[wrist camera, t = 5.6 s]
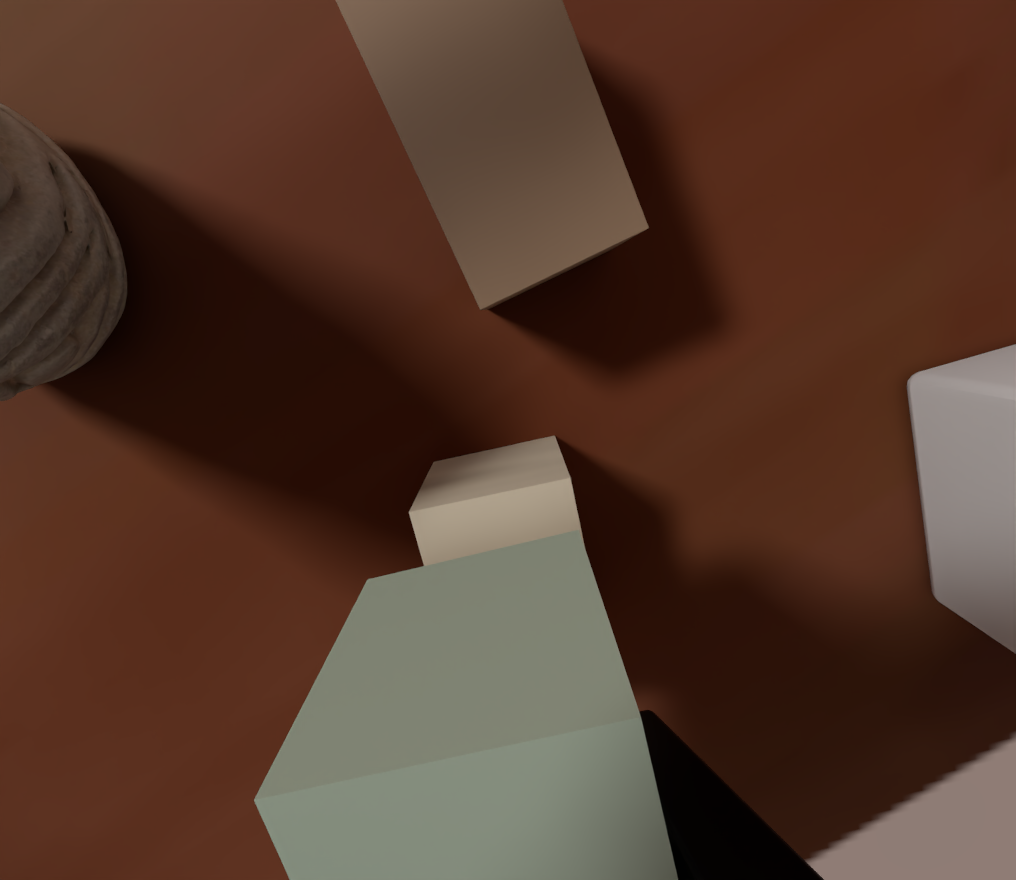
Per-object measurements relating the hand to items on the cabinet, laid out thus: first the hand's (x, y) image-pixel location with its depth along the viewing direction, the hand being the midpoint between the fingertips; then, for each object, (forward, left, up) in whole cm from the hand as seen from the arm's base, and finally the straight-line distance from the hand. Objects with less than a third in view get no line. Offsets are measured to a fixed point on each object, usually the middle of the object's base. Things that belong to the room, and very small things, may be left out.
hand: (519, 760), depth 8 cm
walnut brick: (+10, -2, -8) cm, 13 cm away
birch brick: (0, 0, -8) cm, 8 cm away
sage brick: (0, 0, -1) cm, 1 cm away
